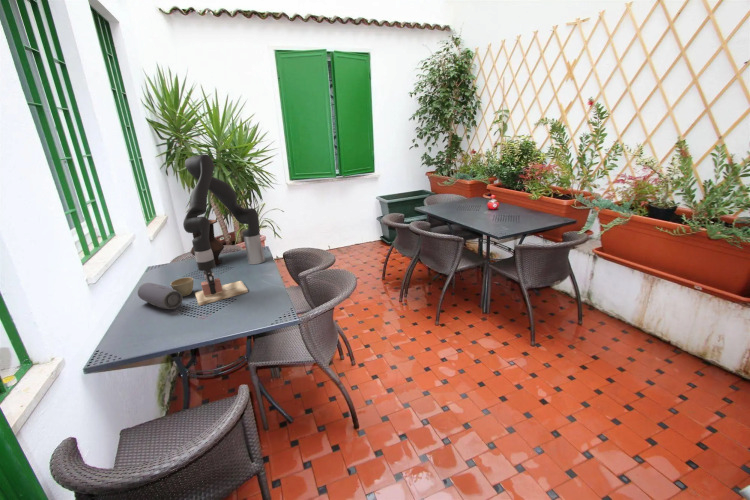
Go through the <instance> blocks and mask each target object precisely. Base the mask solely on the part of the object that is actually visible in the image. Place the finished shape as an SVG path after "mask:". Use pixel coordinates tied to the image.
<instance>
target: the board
mask: <svg viewBox="0 0 750 500" xmlns="http://www.w3.org/2000/svg"><path fill="white" fill-rule="evenodd" d="M221 286H222V290H223V292H222V293H218V294H214V295H211V296H207V297H205V296H204V293H203V290H198V291H196V292H194V295H195V299H196V301H197V304H198V306H204V305H207V304H210V303H211V304H212V303H216V302H217V301H218V302H219V301H221V300H225V299H228V298H232V297H235V296H239V295H243V294H247V293H248V292H249V290H248V288H247V286H246V285H245V284H244V282H243V281H242V280H239V281H234V282H230V283H226V284H221Z"/></svg>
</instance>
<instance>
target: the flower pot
mask: <svg viewBox="0 0 750 500" xmlns="http://www.w3.org/2000/svg"><path fill="white" fill-rule="evenodd" d="M170 286H171V287H170V288H172V289H174V290H176V291H178V292H180V293H181V294H182V296H183V297H187V296H189V295H191V294H192V292H193V289H194V278H193V277H191V276H189V277H187V276H185V277H181V278H177V279H174V280H173V281H171V282H170Z"/></svg>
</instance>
